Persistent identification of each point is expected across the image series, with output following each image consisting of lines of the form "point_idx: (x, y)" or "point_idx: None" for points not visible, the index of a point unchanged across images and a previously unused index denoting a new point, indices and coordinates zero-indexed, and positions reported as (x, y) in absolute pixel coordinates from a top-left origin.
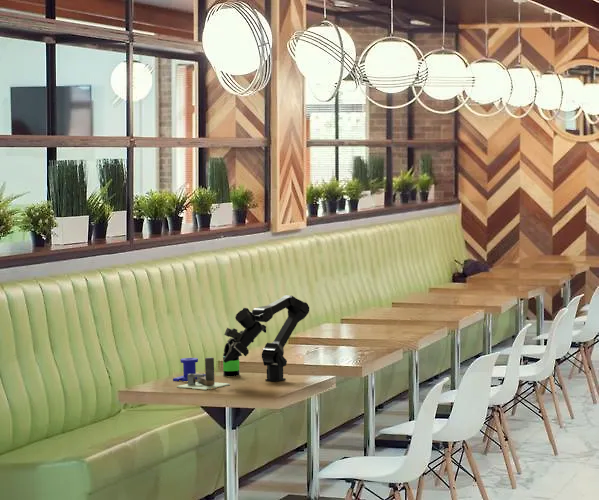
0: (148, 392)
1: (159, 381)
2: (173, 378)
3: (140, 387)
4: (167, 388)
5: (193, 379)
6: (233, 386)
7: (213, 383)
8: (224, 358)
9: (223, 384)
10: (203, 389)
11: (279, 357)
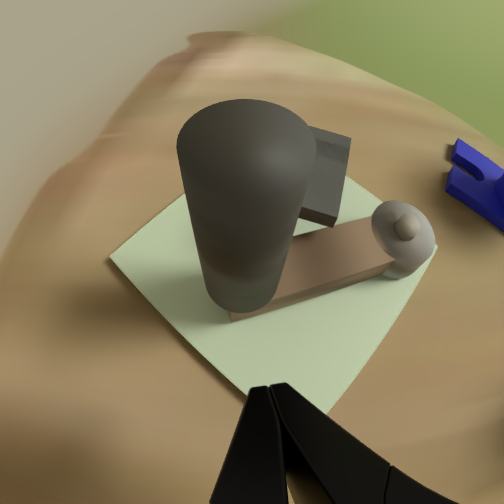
0: (177, 67)
1: (434, 109)
2: (458, 139)
3: (302, 55)
4: None
5: None
6: None
7: (229, 313)
8: (310, 403)
9: None
10: (120, 249)
11: None
